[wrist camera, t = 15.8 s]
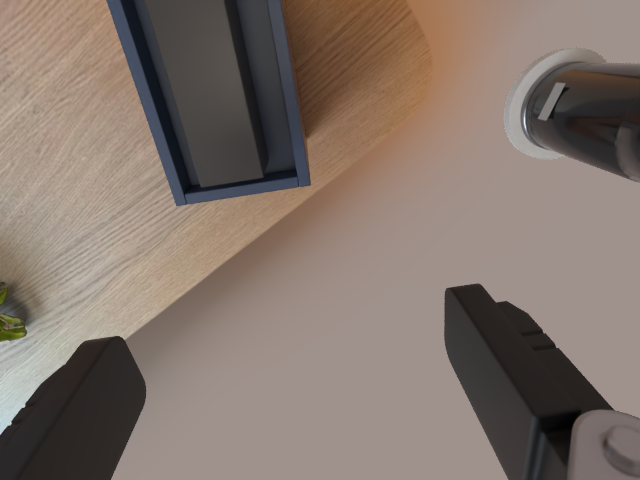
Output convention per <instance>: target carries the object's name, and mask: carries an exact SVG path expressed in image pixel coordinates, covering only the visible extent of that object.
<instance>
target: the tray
mask: <svg viewBox="0 0 640 480" xmlns="http://www.w3.org/2000/svg"><path fill="white" fill-rule="evenodd" d="M107 3H108V6H109V9H110V12H111V15H112V18H113V21H114V24H115V27H116V30H117V33H118V36H119V39H120V41H121V44H122V47H123V50H124V53H125V56H126V59H127V62H128V65H129V68H130V71H131V74H132V77H133V80H134V83H135V86H136V88H137V91H138V94H139V97H140V100H141V103H142V106H143V109H144V112H145V115H146V118H147V121H148V124H149V127H150V130H151V133H152V136H153V138H154V141H155V144H156V147H157V150H158V153H159V156H160V159H161V162H162V165H163V168H164V171H165V174H166V177H167V180H168V183H169V185H170V188H171V191H172V194H173V197H174V200H175V203H176V206H181V205H187V204H194V203H200V202H207V201H213V200H219V199H226V198H232V197H239V196H245V195H252V194H258V193H264V192H271V191H277V190H284V189H290V188H297V187H299V186H300V187H304V186H310V185H311V183H310V174H309V167H308V161H307V155H306V149H305V143H304V136H303V130H302V124H301V118H300V112H299V106H298V99H297V93H296V87H295V81H294V75H293V69H292V62H291V56H290V50H289V44H288V38H287V31H286V25H285V19H284V13H283V7H282V1H281V0H236V5H237V9H238V14H239V19H240V24H241V29H242V33H243V38H244V43H245V48H246V52H247V57H248V62H249V67H250V71H251V76H252V81H253V86H254V90H255V95H256V100H257V105H258V109H259V114H260V119H261V124H262V128H263V133H264V138H265V143H266V147H267V152H268V157H269V161H268V165H267V168H266V171H265V175H264V178H259V179H253V180H247V181H240V182H234V183H228V184H221V185H215V186H209V187H201V186H200V183H199V179H198V176H197V173H196V170H195V166H194V163H193V160H192V156H191V153H190V150H189V147H188V143H187V140H186V137H185V133H184V130H183V127H182V123H181V120H180V117H179V114H178V110H177V107H176V104H175V100H174V97H173V94H172V90H171V87H170V84H169V81H168V77H167V74H166V71H165V67H164V64H163V61H162V58H161V54H160V51H159V48H158V44H157V41H156V38H155V34H154V31H153V28H152V25H151V21H150V18H149V15H148V11H147V8H146V5H145V2H144V0H107Z"/></svg>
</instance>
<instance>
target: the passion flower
mask: <svg viewBox="0 0 640 480" xmlns="http://www.w3.org/2000/svg"><path fill="white" fill-rule="evenodd" d="M3 284H5V283H4V282H3V283H0V285H3ZM6 294H7V288H6V287H5V288H3V289H2V290H1V291H0V305H1V304H2V303H3V301H4V300H5V298H6ZM26 334H27V330H26V329H25V322H24V321H23V320H21V319H19V318H17V317H12V316H9V315H5V314H0V342H2V341H6V340H9V341H11V340H16V339H19V338H22V337H24V336H26Z"/></svg>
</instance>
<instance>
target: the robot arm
mask: <svg viewBox="0 0 640 480" xmlns="http://www.w3.org/2000/svg"><path fill="white" fill-rule="evenodd" d="M520 121H521V127H522V130H523V133H524V135H525V136H526V138H527V139H528V140H529V141H530V142H531V143H532V144H534V145H536V146H538V147H540V148H543V149H547V150H551V151H554V152H557V153H559V154H562V155H564V156H568V157H570V158H573V159H575V160H578V161H581V162H584V163H587V164H589V165H592V166H595V167H597V168H600V169H603V170H605V171H608V172H611V173H614V174H616V175H619V176H622V177H625V178H627V179H630V180H633V181H636V182H639V183H640V64H631V63H629V64H628V63H588V62H582V61H572V62H565V63H562V64H559V65H556V66H554V67H552V68H551V69H549V70H547V71H546V72H545V73H543V74H542V75H541V76H540V77H539V78H538V79H537V80H536V81H535V82H534V83H533V85H532V86H531V87H530V89H529V91H528V92H527V94H526V96H525V99H524V101H523V104H522V108H521V115H520ZM444 337H445V346H446V350H447V354H448V357H449V360H450V362H451V364H452V367H453V369H454V371H455V373H456V375H457V377H458V379H459V381H460V382H461V385H462V387H463V389H464V391H465V393H466V395H467V397H468V399H469V401H470V403H471V405H472V407H473V409H474V411H475V413H476V415H477V417H478V419H479V421H480V423H481V425H482V427H483V429H484V431H485V433H486V435H487V437H488V439H489V441H490V443H491V445H492V447H493V449H494V451H495V453H496V456H497V457H498V460H499V462H500V464H501V465H502V468H503V470H504V472H505V474H506V475H507V478H508V479H509V480H640V419H639V418H637V417H635V416H632V415H629V414H626V413H623V412H619V411H615V410H614V409H613V408H612V407H611V406H610V405H609V404H608V403H607V402H606V401H605V399H604V398H603V397H602V396H601V395H600V394H599V393H598V392H597V390H596V389H595V388H594V387H593V386H592V385H591V384H590V383H589V382H588V381H587V379H586V378H585V377H584V376H583V375H582V374H581V373H580V371H578V369H577V368H576V367H575V366H574V365H573V364H572V363H571V361H570V360H569V359H568V358H567V357H566V356H565V355H564V354H563V352H562V351H561V350H560V349H559V348H556V346H555V344H554V342H553V341H552V340H551V339H550V338H549V337H548V336H547V335H546V333H545V334H544V333H543V330H542V329H541V328H540V327H539V326H538V324H537V323H536V322H535V321H534V320H533V319H532V318H531V317H530V316H529V314H528V313H526V312H524V311H522V310H521V309H519V308H517V307H516V306H514V305H512V304H511V303H509V302H507V301H504V302H497V303H496V302H495V301H494V300H493V299H492V297H491V296H490V295H489V294H488V292H487V291H486V290H485V289H484V288H483V286H482V285H480V284H471V285H464V286H457V287H452V288H447V289H446V291H445V331H444ZM145 399H146V386H145V381H144V379H143V376H142V374H141V372H140V370H139V368H138V366H137V364H136V362H135V360H134V358H133V356H132V354H131V352H130V350H129V348H128V346H127V344H126V342H125V340H124V339H123V338H121V337H120V336H114V337H107V338H100V339H93V340H87V341H84V342H83V343H82V344H81V345H80V346H79V347H78V348H77V350H76V351H75V352H74V354H73V355H72V356H71V358H70V359H69V360H68V361H67V363H66V364H65V365H63V366H62V367H61V368H59V369H58V370H57V371H56V372H55V373H53V374H52V375H51V376H50V377H49V378H47V379H46V380H45V381H44V382H43V383H41V385H40V386H39V387H38V388H37V390H36V391H35V392H34V393H33V395H32V396H31V397H30V399H29V400H28V401H27V402H26V404H25V405H26V406H25V408H22V409H21V410H20V411H19V412H18V414H17V415H16V416H15V417H14V419H13V420H12V421H11V422H12V424H11V426H7V427H6V429H5V430H4V431H3V432H2V434H1V435H0V480H111V478H112V476H113V473H114V471H115V469H116V467H117V464H118V462H119V460H120V458H121V456H122V453H123V451H124V449H125V447H126V444H127V442H128V440H129V438H130V435H131V433H132V431H133V429H134V427H135V424H136V422H137V420H138V418H139V415H140V413H141V411H142V409H143V406H144V403H145Z"/></svg>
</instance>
